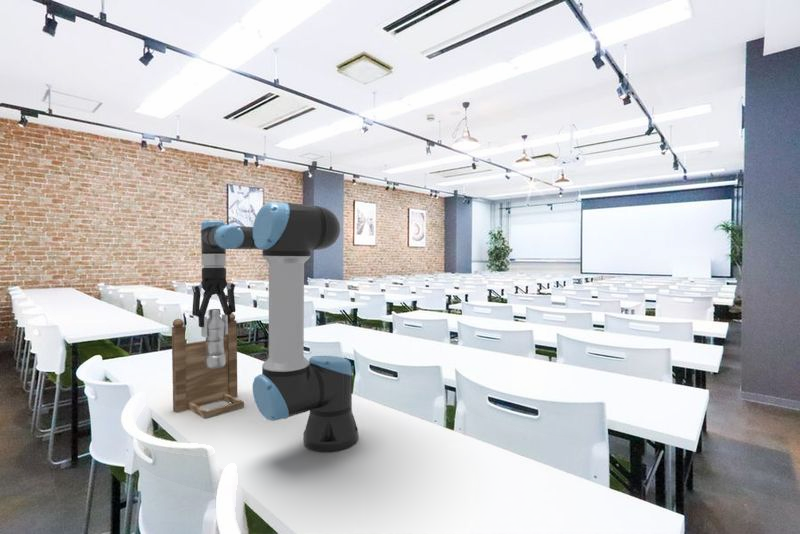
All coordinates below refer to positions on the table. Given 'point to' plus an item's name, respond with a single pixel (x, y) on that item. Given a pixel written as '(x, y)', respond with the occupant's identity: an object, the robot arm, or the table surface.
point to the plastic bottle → (215, 340)
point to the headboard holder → (203, 373)
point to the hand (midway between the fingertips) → (214, 334)
